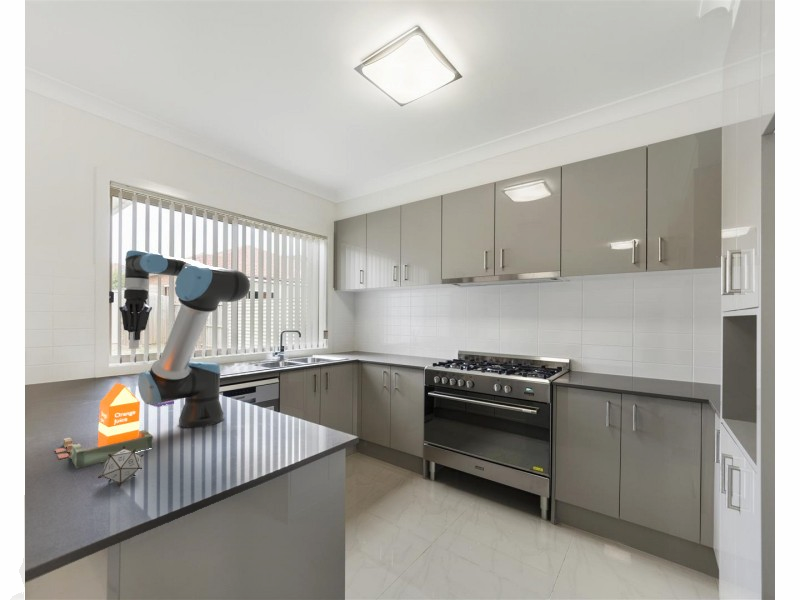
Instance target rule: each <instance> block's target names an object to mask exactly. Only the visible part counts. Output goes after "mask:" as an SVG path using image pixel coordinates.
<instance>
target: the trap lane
mask: <svg viewBox="0 0 800 600" xmlns="http://www.w3.org/2000/svg"><path fill="white" fill-rule="evenodd" d="M153 441H154V436H153V435H152V434H151V433H149V431H147V430H146V429H142V430H139V434H138V438H135V439H131V440H126V441H122V442H118V443H113V444H109V445H104V446H100V447H98V446H96V447H92V448H88V449H87V448H86V449H84V448H83V447H82V446H81V444H80V443H77V444H75V443H73V439H72V438H71V437H66V438H63V444H62V445H64V446H63V448H65V449H66V453H67V452H70V453H69V458H70V457H71V458H70V459H72V460H71V461H72V463H73V465H74V466H75V468H76V469H79V468H83V467H88V466H91V464H92V465H95V464H98V462H99V463H101V462H106V461H107V460H108V458H109V457H110V456H108V454H111V455H113V454H115V453H117V452H119V451H121V450H122V449H123V446H125V449H127V450H130V451H133V450H134V449H136V451H135V452H138V451H141V450H146V449H149V448H152V449H153V448H154V447H153V446H154V445H153V443H154V442H153ZM66 447H67V448H66ZM87 465H88V466H87Z"/></svg>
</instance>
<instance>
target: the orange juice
mask: <svg viewBox="0 0 800 600" xmlns="http://www.w3.org/2000/svg"><path fill="white" fill-rule="evenodd" d="M140 405H141V401H139V399H138V398H137V397H135V394H133V393H132V392H131V390H129V389H128V387H126V385H125V384H121V383H119V382H115V384H114V385H113V386H112V387H111V389H110V390H109V391H108V392H107V394H106V395H105V396H104V397H103V398H102V399H101V400H100V402H99V418H98V419H99V420H98V438H97V447H100V446H104V445H109V444H113V443H118V442H122V441H126V440H131V439H135V438H138V434H139V431H140V430H139V429H140V409H141V408H140V407H141V406H140Z"/></svg>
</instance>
